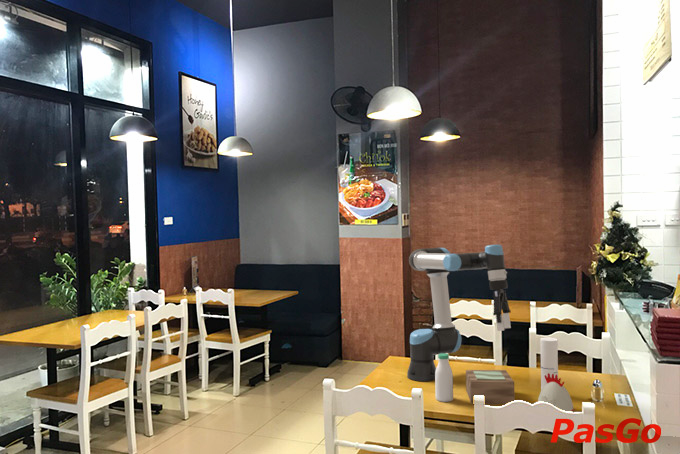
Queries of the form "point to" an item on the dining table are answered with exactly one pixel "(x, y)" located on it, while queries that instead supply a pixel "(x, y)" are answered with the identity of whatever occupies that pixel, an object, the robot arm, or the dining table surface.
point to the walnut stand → (490, 386)
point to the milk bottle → (443, 379)
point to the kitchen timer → (556, 394)
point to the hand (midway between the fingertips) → (504, 329)
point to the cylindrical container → (548, 358)
